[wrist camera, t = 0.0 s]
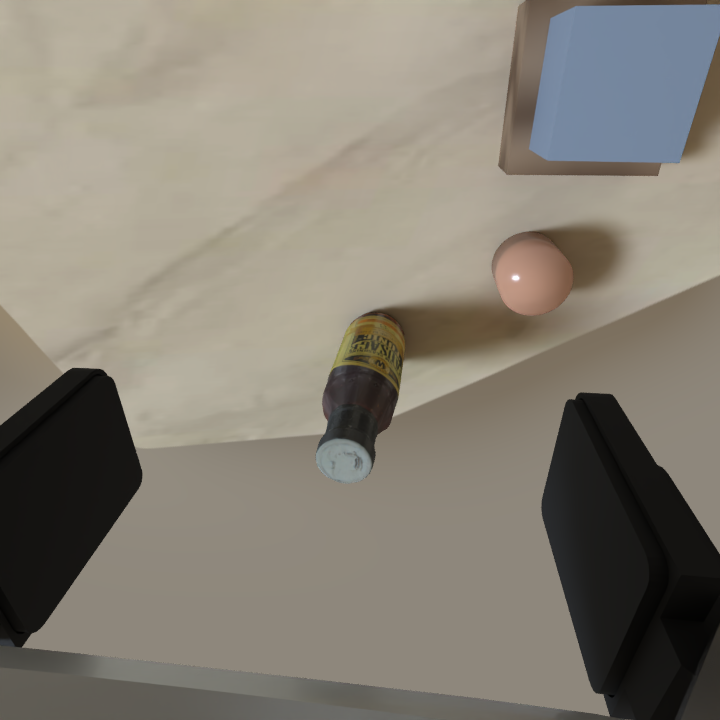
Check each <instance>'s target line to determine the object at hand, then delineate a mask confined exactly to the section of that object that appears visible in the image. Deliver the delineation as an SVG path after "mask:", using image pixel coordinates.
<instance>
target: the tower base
mask: <svg viewBox="0 0 720 720" xmlns="http://www.w3.org/2000/svg"><path fill="white" fill-rule="evenodd" d="M706 3H707V0H526V1H525V2H523V3H522V4H521V5H519V6H518V13H517V21H516V29H515V37H514V45H513V53H512V61H511V69H510V77H509V85H508V93H507V101H506V108H505V116H504V124H503V132H502V140H501V148H500V156H499V164H498V166H499V167H500V168H501V169H502V170H503V171H504V172H505V173H506V174H507V175H617V176H658V174H659V170H660V166H661V163H654V162H597V161H547V160H546V159H544V158H542V157H541V156H539V155H538V154H536V153H534V152H533V151H531V150H529V146H530V140H531V134H532V128H533V121H534V115H535V109H536V103H537V97H538V91H539V85H540V79H541V73H542V67H543V61H544V55H545V49H546V43H547V37H548V31H549V25H550V18H552V17H554V16H556V15H558V14H560V13H562V12H564V11H567V10H569V9H571V8H573V7H575V6H624V5H706Z"/></svg>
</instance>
